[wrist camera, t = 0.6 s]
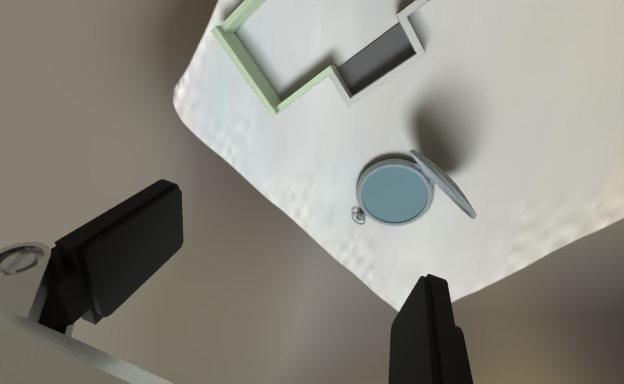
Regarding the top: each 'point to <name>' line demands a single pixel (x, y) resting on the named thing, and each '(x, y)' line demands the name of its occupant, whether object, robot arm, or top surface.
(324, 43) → the top surface
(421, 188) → the pocket watch
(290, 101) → the box
